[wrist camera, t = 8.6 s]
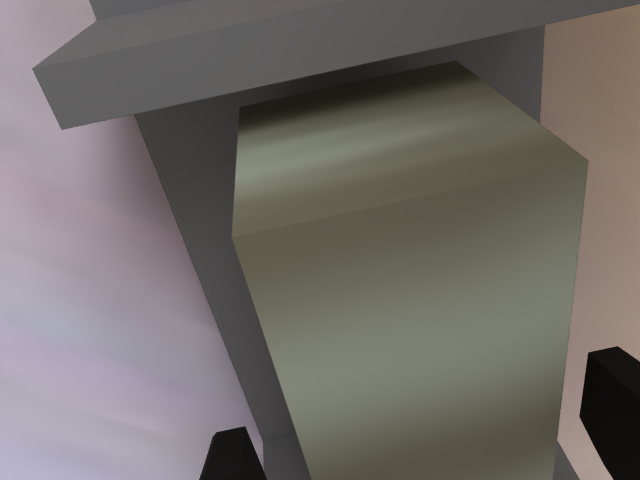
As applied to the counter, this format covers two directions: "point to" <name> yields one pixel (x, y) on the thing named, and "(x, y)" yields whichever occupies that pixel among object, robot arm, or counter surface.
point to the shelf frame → (264, 85)
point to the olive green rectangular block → (412, 273)
